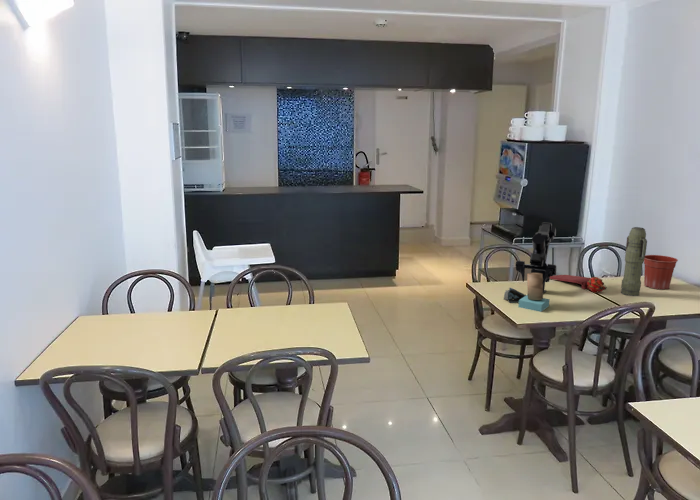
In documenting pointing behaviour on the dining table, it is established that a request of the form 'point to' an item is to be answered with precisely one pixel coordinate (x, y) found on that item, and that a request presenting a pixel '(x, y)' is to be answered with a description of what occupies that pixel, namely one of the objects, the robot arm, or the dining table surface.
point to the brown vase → (535, 286)
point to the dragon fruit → (596, 285)
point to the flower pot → (658, 271)
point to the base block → (533, 304)
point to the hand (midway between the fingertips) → (532, 282)
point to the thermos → (634, 261)
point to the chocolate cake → (513, 295)
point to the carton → (572, 279)
